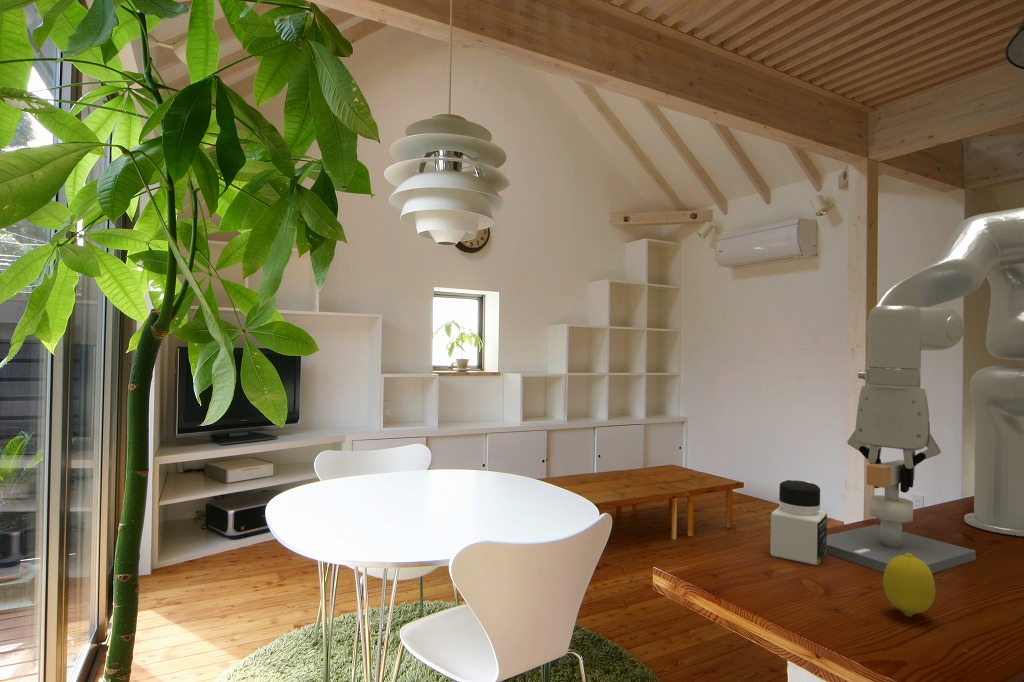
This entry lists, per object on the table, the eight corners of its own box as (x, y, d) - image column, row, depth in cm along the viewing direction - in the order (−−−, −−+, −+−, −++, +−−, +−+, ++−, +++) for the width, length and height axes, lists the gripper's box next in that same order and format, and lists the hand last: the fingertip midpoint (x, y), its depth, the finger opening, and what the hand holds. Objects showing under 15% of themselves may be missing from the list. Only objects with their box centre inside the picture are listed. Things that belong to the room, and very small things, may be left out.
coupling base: (876, 532, 112) (876, 500, 112) (975, 559, 98) (976, 523, 98) (809, 547, 102) (809, 512, 102) (909, 580, 88) (909, 539, 89)
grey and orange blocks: (894, 527, 95) (895, 469, 95) (855, 517, 100) (856, 463, 100) (926, 517, 101) (926, 463, 101) (887, 508, 106) (888, 457, 106)
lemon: (874, 605, 79) (875, 544, 80) (919, 608, 79) (920, 547, 79) (896, 624, 74) (897, 559, 74) (944, 627, 73) (945, 562, 73)
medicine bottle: (818, 566, 94) (819, 489, 94) (769, 556, 98) (771, 482, 98) (826, 554, 99) (827, 481, 99) (780, 545, 104) (781, 475, 104)
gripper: (833, 377, 104) (831, 483, 103) (950, 382, 92) (948, 502, 92) (845, 376, 109) (843, 477, 109) (957, 381, 98) (955, 494, 97)
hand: (891, 488), depth 100 cm, fingers closed on grey and orange blocks, 3 cm apart
